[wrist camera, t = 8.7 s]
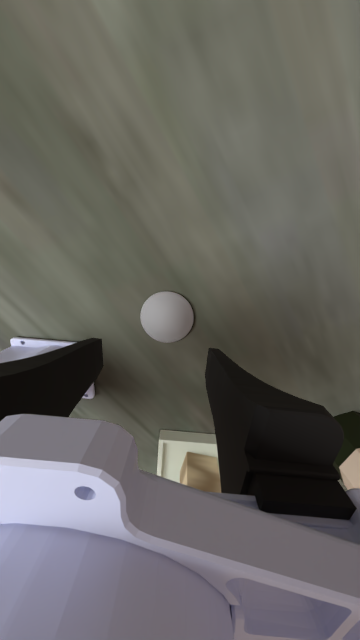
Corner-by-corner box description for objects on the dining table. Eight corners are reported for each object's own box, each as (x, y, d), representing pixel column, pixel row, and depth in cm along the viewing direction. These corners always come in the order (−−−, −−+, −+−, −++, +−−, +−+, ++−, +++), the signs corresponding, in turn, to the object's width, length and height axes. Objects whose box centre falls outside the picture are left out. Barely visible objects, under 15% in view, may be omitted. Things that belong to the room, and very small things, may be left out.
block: (179, 471, 27) (178, 515, 23) (186, 451, 26) (187, 493, 21) (208, 477, 28) (212, 522, 23) (216, 457, 26) (223, 500, 21)
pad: (140, 339, 21) (140, 340, 21) (141, 289, 19) (140, 289, 19) (190, 343, 21) (190, 344, 21) (196, 293, 19) (196, 294, 19)
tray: (157, 484, 29) (155, 495, 28) (160, 429, 26) (159, 439, 24) (229, 490, 29) (231, 502, 28) (243, 436, 26) (246, 447, 24)
